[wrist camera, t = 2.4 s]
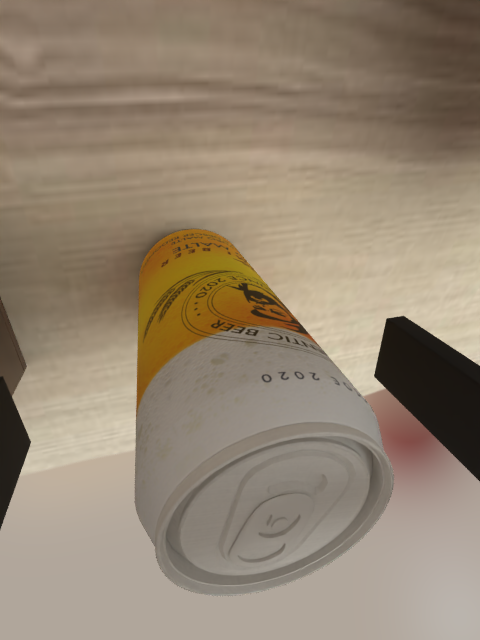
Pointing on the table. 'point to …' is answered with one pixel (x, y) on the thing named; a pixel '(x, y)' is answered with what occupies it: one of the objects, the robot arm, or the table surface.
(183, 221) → the table surface
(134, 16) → the table surface
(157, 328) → the beer can
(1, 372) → the rack
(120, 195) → the table surface
